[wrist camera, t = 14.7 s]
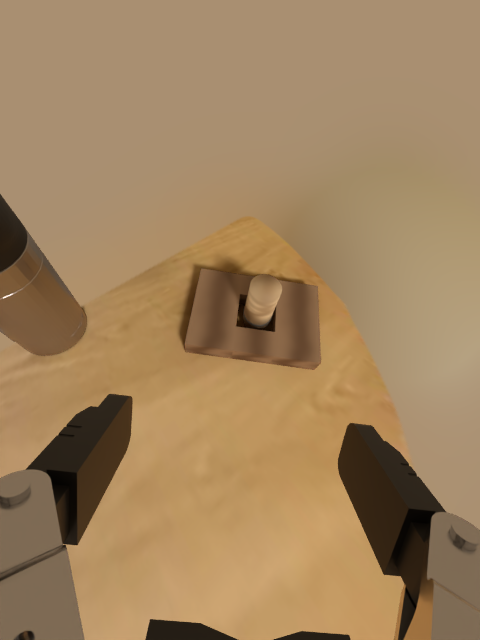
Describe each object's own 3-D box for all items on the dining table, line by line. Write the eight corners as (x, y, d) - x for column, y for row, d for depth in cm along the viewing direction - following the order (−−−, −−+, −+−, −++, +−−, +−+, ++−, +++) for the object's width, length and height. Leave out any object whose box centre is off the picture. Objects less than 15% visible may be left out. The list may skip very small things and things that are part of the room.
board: (185, 352, 44) (184, 343, 41) (201, 279, 51) (201, 268, 48) (314, 369, 45) (320, 362, 42) (311, 295, 52) (317, 286, 49)
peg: (239, 332, 46) (247, 299, 38) (242, 308, 49) (250, 271, 40) (267, 336, 47) (282, 303, 38) (269, 312, 49) (283, 276, 40)
